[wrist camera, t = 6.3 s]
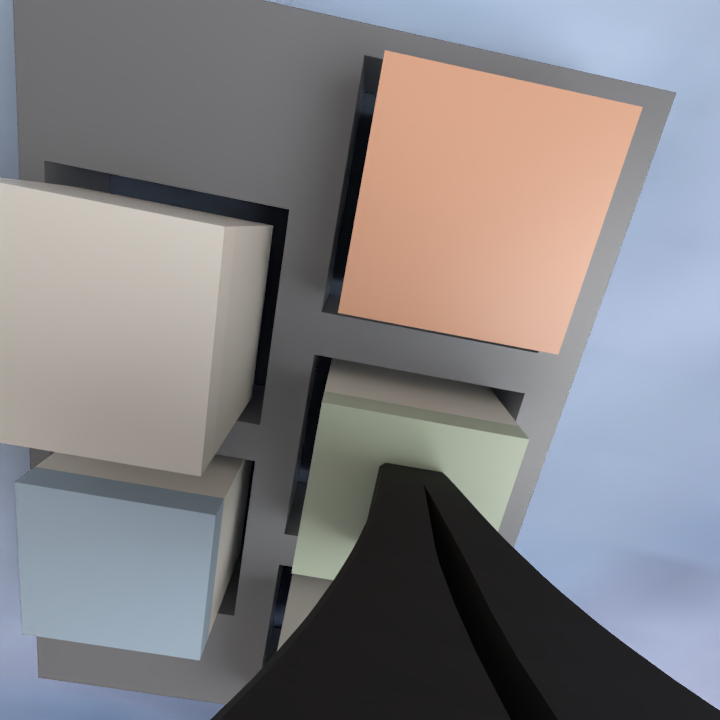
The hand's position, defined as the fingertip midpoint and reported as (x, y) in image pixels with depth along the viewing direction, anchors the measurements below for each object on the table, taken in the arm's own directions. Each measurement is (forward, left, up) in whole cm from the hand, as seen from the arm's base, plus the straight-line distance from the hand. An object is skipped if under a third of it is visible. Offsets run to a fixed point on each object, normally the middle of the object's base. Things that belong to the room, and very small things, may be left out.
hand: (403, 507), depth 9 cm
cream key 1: (+3, +6, -2) cm, 7 cm away
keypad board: (0, +3, -4) cm, 5 cm away
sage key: (0, 0, -3) cm, 3 cm away
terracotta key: (+6, 0, -3) cm, 7 cm away
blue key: (-3, +6, -3) cm, 8 cm away
